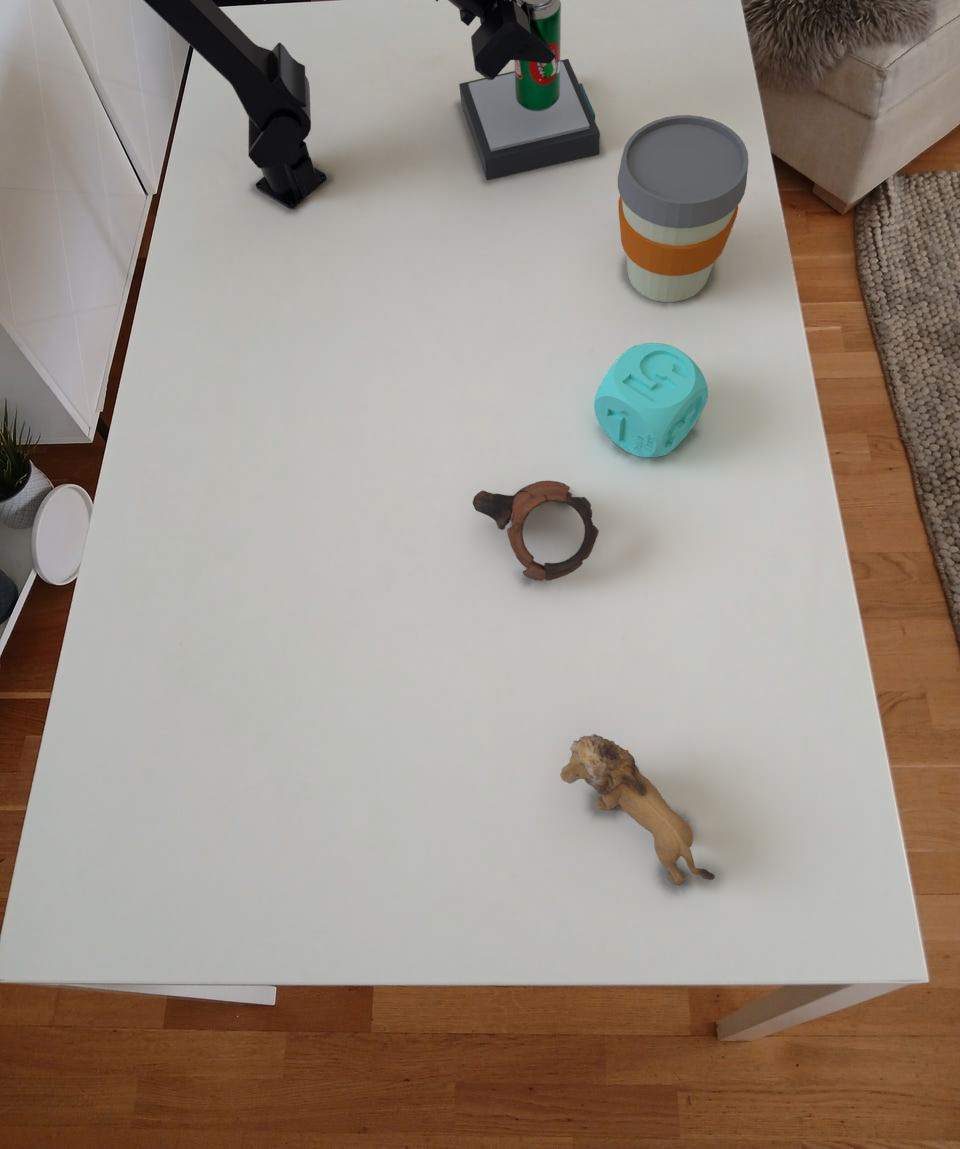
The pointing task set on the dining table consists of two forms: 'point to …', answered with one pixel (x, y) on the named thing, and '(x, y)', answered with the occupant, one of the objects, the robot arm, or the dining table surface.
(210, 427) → the dining table surface
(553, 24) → the soda can
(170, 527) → the dining table surface
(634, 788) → the lion figurine
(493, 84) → the scale
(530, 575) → the jagged brown ring
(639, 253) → the reusable coffee cup
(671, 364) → the decorative dice
